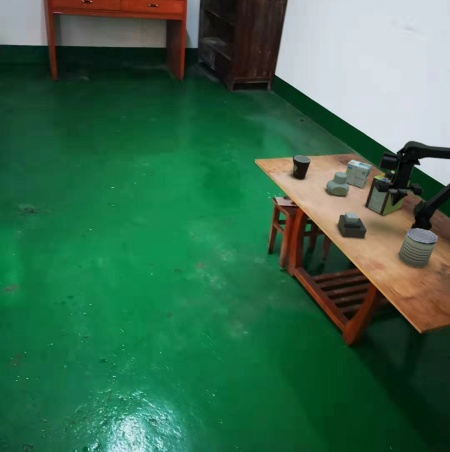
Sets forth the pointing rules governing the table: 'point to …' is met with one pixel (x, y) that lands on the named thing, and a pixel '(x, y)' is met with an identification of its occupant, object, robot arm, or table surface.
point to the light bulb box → (357, 173)
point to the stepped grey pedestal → (351, 228)
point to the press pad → (351, 217)
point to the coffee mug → (300, 166)
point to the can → (417, 247)
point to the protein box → (381, 198)
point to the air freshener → (338, 184)
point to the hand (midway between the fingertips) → (392, 205)
